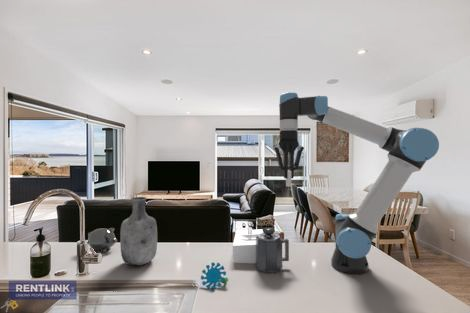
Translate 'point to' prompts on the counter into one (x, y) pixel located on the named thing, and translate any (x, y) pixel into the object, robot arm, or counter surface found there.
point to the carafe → (270, 253)
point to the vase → (138, 235)
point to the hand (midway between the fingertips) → (288, 186)
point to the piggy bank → (102, 239)
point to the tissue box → (245, 245)
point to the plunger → (268, 231)
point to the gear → (214, 276)
